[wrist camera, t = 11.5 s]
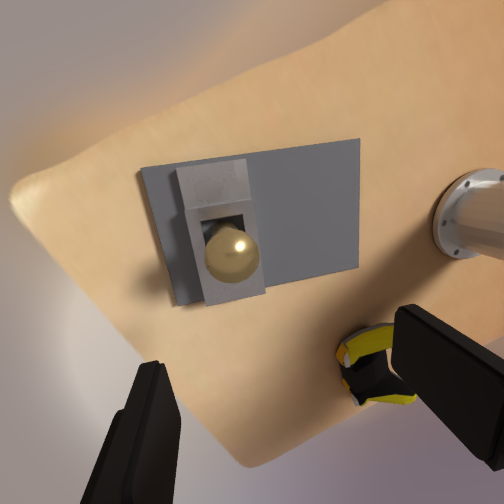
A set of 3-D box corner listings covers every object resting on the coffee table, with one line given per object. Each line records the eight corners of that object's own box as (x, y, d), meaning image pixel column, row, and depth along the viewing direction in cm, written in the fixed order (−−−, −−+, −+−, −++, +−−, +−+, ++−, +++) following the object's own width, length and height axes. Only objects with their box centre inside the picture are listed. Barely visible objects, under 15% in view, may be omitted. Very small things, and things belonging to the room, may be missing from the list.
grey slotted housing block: (243, 159, 25) (247, 157, 23) (261, 284, 30) (265, 293, 28) (177, 168, 24) (174, 167, 22) (206, 296, 29) (206, 306, 27)
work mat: (355, 139, 28) (360, 138, 27) (354, 265, 33) (358, 267, 32) (142, 168, 25) (140, 167, 24) (178, 301, 30) (178, 306, 29)
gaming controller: (386, 306, 37) (327, 330, 36) (416, 328, 32) (348, 356, 31) (396, 375, 42) (344, 397, 41) (422, 403, 37) (364, 429, 36)
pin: (240, 210, 27) (256, 226, 19) (245, 246, 28) (262, 277, 20) (201, 216, 26) (199, 236, 18) (208, 253, 28) (210, 288, 19)
